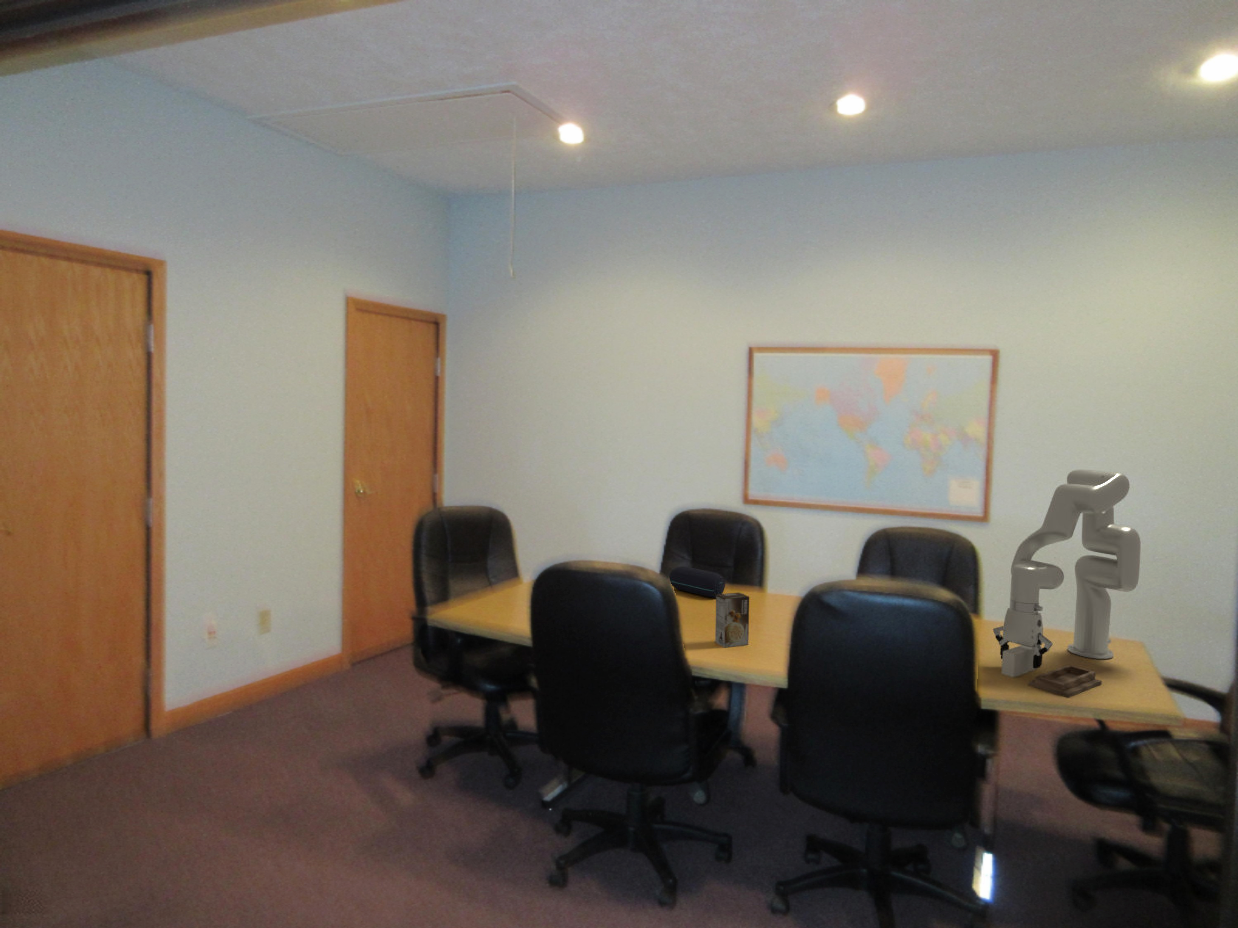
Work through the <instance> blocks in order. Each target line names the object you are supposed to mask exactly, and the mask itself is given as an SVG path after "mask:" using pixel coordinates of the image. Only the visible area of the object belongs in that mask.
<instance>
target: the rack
mask: <svg viewBox="0 0 1238 928" xmlns="http://www.w3.org/2000/svg"><path fill="white" fill-rule="evenodd" d="M1096 673H1097V672H1096V671H1094V670H1093V671H1092V670H1089V669H1086V668H1082V667H1078V666H1074V665H1071V664H1066V665H1064V666H1060V667H1059V668H1055V669H1052V670H1049V671H1047V672H1044V673H1041V674H1039V675H1036V676H1034V679H1032V680H1029V681H1028V682H1027V683H1028V684H1027V685H1028V686H1030V687H1032V688H1033V687H1034V688H1036V689H1039V690H1040V689H1041V690H1043V691H1047V692H1049V693H1053V694H1056V695H1059V696H1063V697H1066V698H1071V697H1073V696H1075V695H1078V694H1080V693H1083V692H1086V691H1089V690H1090V688H1091V689H1093V688H1095V687H1096V688H1097V687H1098V686H1101V685H1102V684H1103V683H1102V682H1103V680H1100V679H1096V676H1097V675H1096Z"/></svg>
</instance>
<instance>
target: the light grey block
mask: <svg viewBox="0 0 1238 928" xmlns="http://www.w3.org/2000/svg"><path fill="white" fill-rule="evenodd" d="M1034 655H1035V652H1034V651H1033V649H1032V648H1031V647H1027V646H1023V645H1018V646H1015V647H1012V648H1009V649H1008V650H1005V651H1003V659H1001V661H1002V662H1001V675H1003V674H1004V675H1003V676H1007V677H1011V678H1016V677H1018V676H1021V675H1025V674H1027V673H1030V672H1033V671H1036V670H1038V669H1039V668H1036V670H1035V668H1033V656H1034ZM1029 671H1030V672H1029Z"/></svg>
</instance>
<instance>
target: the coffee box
mask: <svg viewBox="0 0 1238 928" xmlns="http://www.w3.org/2000/svg"><path fill="white" fill-rule="evenodd" d="M749 622H750V596H749V595H747V594H744V593H741V592H731V593H730V592H729V593H722V594H717V595H716V598H715V632H714V633H715V635H714V638H715V639H714V641H715V643H716V644H718V645H719V646H721V647H723V648H731V647H741V646H747V645H749V633H750V632H749V627H750V623H749Z"/></svg>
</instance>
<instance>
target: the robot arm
mask: <svg viewBox="0 0 1238 928" xmlns="http://www.w3.org/2000/svg"><path fill="white" fill-rule="evenodd" d="M1130 485H1131V484H1130V481H1129V478H1128V477H1127V476H1126V475H1125V474H1123V473H1121V472H1120V473H1119V472H1115V471H1113V472H1112V471H1103V470H1102V471H1101V470H1091V469H1075V470H1072V471H1070V472H1069V473H1068V474H1067V477H1066V483H1064V484H1063V483H1062V484H1060V485H1059V486H1057V487H1056V488H1055V490H1054V493H1053V495H1052V497H1051V501H1050V504H1049V506H1048V509H1047V511H1046V515H1045V517H1044V520H1043V522H1042V525H1041V527H1039V528H1038V529H1037V530H1035V531H1034V532H1032V533H1030V535H1028V536H1027V537H1026V538H1025V539H1024V540H1023V541H1022V542H1021V543H1020V544H1019V546H1018V547H1017V549H1016V551H1015V553H1014V556H1013V560H1012V562H1011V566H1010V567H1011V568H1010V574H1011V575H1010V576H1011V579H1010V595H1009V607H1008V608H1007V609H1006V613H1005V615H1004V622H1003V625H1002V626H998V627H993V629H992V630H993V634H994V636H995V639H996V641H997V642H998V645H999V647H1000V650H999V651H1000V652H999V655H1000V659H1001V660H1002V659H1003V651H1005V650H1008V649H1010V644H1009V643H1012V644H1017V645H1018V646H1021V645H1023V646H1027V647H1031V648H1032V649H1033V651H1034V652H1035V655H1034V656H1033V668H1035V669H1036V668H1038V669H1039V668H1041V666H1042V665H1043V655H1044V654H1046V653H1047V652H1049V651H1050V649H1051V648H1052V646H1053V645H1054V643H1053V642H1052V641H1051V640H1049V639H1048V638H1047V637H1046V636H1044V628H1043V627H1044V626H1043V625H1044V624H1043V618H1042V614H1041V612H1042V611H1043V609H1044V608H1043V606H1040V602H1039V600H1040V596H1039V595H1040V590H1055V589H1058V588H1059V587H1060V586H1061V585H1062V584H1063V582H1064V579H1065V575H1064V572H1063V570H1062V568H1060V567H1059V566H1058V565H1055V564H1052V563H1046V562H1041V561H1038V560H1032V559H1033V556H1034V555H1035V554H1036V553H1037V552H1038V551H1039V550H1041V549H1042V548H1044V547H1046V546H1049V545H1052V544H1055V543H1060V542H1063V541H1067V540H1070V539H1072V537H1073V535H1074V532H1075V529H1076V527H1077V523H1078V521H1079V519H1080V516H1081V514H1082V519H1081V522H1082V523H1081V545H1082V547H1083V548H1084V549H1085V550H1088V551H1090V552H1093V553H1098V554H1099V553H1100V554H1104V555H1110V556H1115V557H1116V559H1115V558H1110V557H1106V556H1105V557H1104V556H1099V555H1093V554H1092V555H1091V554H1090V555H1089V554H1086V555H1083V556H1081V557H1079V558H1078V559H1077V560H1076V562H1075V565H1074V574H1075V581H1076V582H1075V583H1076V600H1075V601H1076V602H1075V616H1074V617H1075V618H1074V629H1073V630H1074V631H1073V643H1071V644H1068V645H1067V651H1069V652H1070V653H1072V654H1074V655H1077V656H1080V657H1084V658H1085V657H1086V658H1089V659H1090V658H1091V659H1100V660H1104V659H1105V660H1108V659H1111V658H1113V657H1114V652H1113V651H1112V650H1111V649H1109V644H1111V643H1112V639H1111V638H1110V635H1109V634H1110V625H1111V624H1110V623H1111V621H1110V620H1111V610H1112V601H1111V596H1110V594H1109V592H1108V591H1107V589H1108V590H1113V591H1117V592H1124V593H1129V592H1132V591H1133V590H1135V589H1136V587H1137V586H1138V582H1139V579H1140V569H1141V568H1140V563H1141V547H1142V546H1141V537H1140V534H1139V533H1138V532H1137V530H1136V529H1135V528H1133V527H1130V526H1127V525H1126V526H1125V525H1121V524H1115V509H1114V506H1116V505H1117V504H1118V503H1120V502H1121V501H1123V500H1124V499H1125V498H1126V497H1127V495H1128V494H1129V490H1130ZM1001 632H1002V634H1001ZM1043 644H1044V646H1043V647H1042V645H1043ZM1036 670H1037V669H1036Z"/></svg>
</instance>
